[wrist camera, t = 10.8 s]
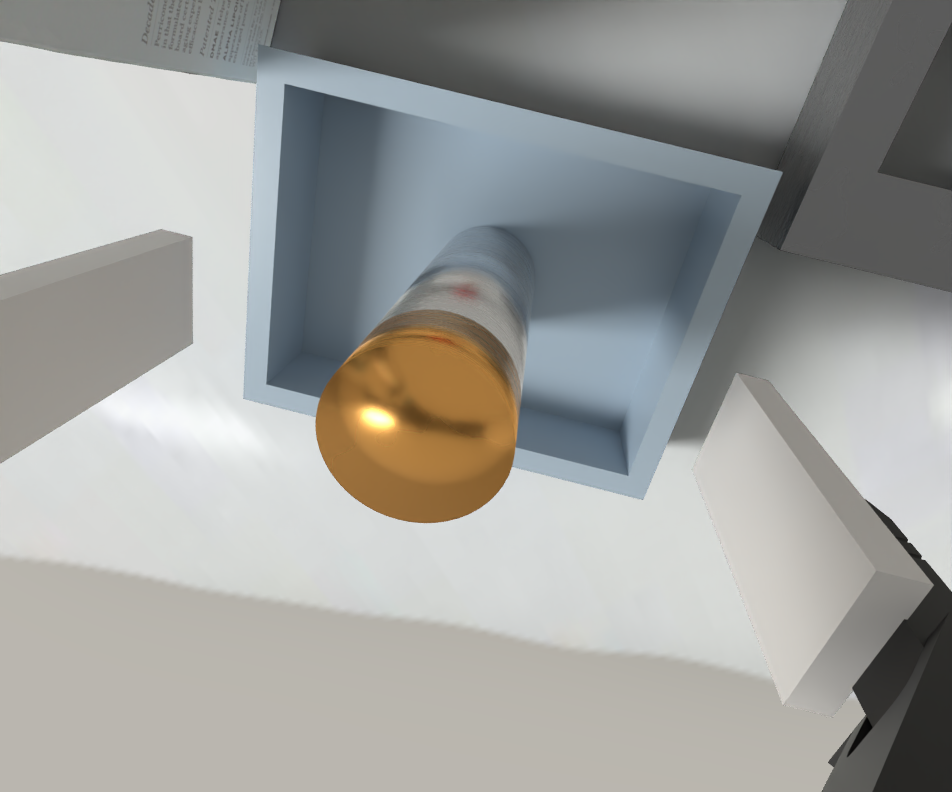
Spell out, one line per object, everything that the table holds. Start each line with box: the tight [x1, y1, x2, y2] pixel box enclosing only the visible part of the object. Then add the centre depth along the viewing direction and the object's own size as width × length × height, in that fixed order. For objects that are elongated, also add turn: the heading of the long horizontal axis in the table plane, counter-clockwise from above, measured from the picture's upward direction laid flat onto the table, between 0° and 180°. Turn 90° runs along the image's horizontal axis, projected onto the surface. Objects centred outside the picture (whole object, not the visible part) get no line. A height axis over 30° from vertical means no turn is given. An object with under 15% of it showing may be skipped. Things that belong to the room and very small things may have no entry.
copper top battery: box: [316, 226, 535, 523], centre depth 16 cm, size 4×4×12 cm
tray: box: [243, 44, 783, 500], centre depth 20 cm, size 15×11×4 cm
